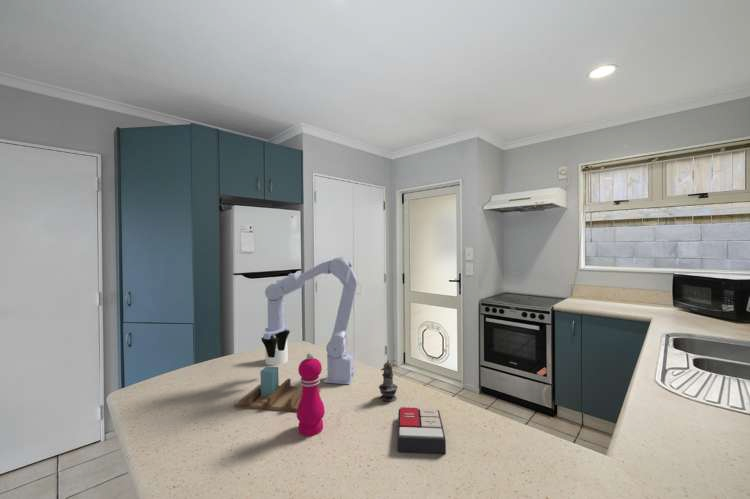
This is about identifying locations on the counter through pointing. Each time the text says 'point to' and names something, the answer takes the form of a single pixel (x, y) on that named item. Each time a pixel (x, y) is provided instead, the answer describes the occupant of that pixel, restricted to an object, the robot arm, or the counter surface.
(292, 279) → the robot arm
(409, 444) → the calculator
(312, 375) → the pepper mill
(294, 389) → the slot rack
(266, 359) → the cylinder with rectangular tab
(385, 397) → the dark grey tall piece
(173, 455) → the counter surface
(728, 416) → the counter surface
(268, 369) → the plug block
